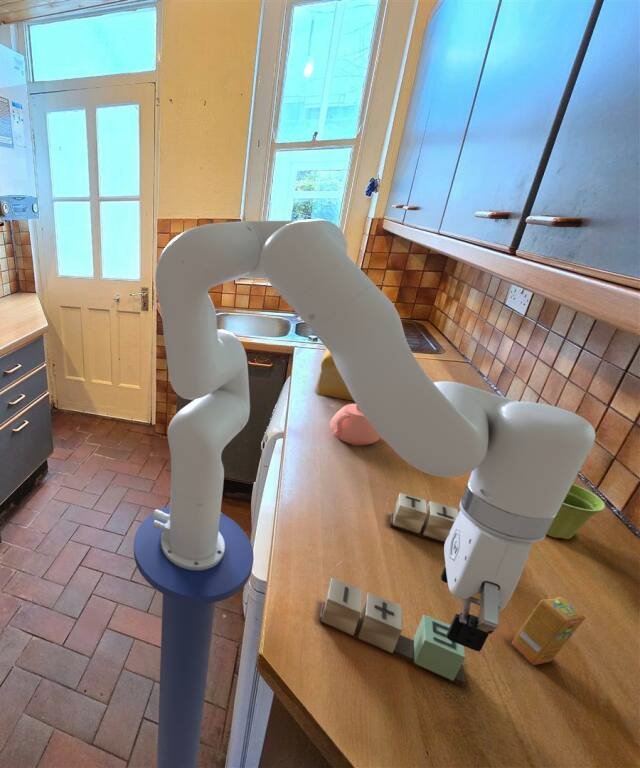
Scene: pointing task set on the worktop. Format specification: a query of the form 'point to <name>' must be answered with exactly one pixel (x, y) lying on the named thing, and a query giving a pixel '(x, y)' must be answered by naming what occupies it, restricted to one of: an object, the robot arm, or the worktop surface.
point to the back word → (423, 518)
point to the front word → (370, 621)
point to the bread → (331, 379)
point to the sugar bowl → (353, 426)
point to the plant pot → (575, 512)
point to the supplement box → (547, 630)
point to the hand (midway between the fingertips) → (458, 611)
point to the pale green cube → (437, 648)
